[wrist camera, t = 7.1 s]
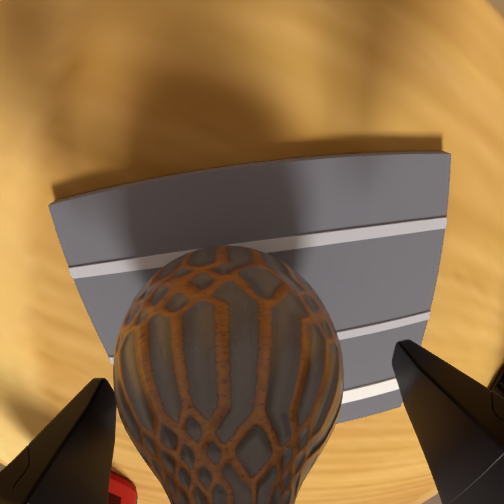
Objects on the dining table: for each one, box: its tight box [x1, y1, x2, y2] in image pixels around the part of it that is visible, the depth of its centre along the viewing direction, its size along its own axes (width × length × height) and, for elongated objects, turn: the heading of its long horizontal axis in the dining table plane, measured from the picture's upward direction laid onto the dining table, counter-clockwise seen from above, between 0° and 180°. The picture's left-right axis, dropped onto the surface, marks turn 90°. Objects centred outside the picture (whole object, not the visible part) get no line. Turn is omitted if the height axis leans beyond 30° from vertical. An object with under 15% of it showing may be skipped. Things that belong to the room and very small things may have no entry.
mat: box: [48, 151, 451, 424], centre depth 14 cm, size 16×16×1 cm
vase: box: [113, 245, 344, 504], centre depth 9 cm, size 7×7×9 cm
